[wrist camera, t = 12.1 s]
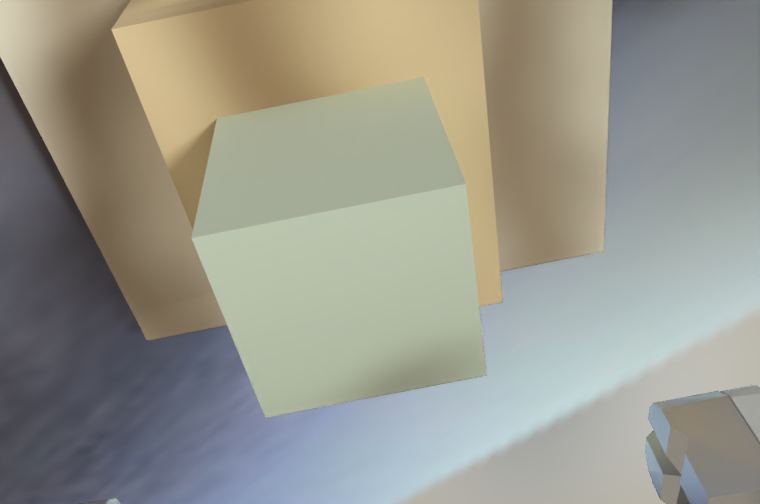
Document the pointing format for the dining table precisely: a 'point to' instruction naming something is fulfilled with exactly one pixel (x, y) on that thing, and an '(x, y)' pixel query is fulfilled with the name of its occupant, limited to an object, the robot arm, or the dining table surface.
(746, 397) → the robot arm
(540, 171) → the foundation base
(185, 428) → the dining table surface
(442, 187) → the sage cube
